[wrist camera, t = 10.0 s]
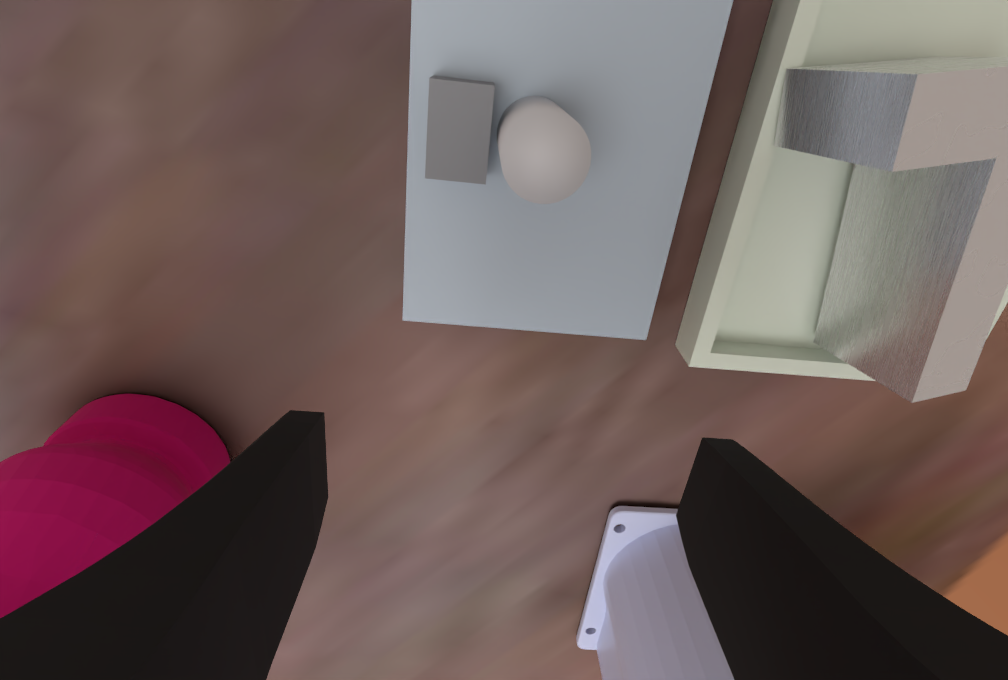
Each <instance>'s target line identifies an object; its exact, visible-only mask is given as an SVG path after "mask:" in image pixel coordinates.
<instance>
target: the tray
mask: <svg viewBox="0 0 1008 680" xmlns="http://www.w3.org/2000/svg"><path fill="white" fill-rule="evenodd" d="M935 56H945V57H1008V0H773V2H772V6H771V9H770V13H769V16H768V20H767V23H766V27H765V30H764V34H763V37H762V41H761V44H760V48H759V51H758V55H757V58H756V62H755V65H754V69H753V72H752V76H751V79H750V83H749V86H748V90H747V93H746V97H745V100H744V104H743V107H742V111H741V114H740V118H739V121H738V125H737V129H736V132H735V136H734V139H733V143H732V146H731V150H730V153H729V157H728V160H727V164H726V167H725V171H724V174H723V178H722V181H721V185H720V188H719V192H718V195H717V199H716V202H715V206H714V209H713V213H712V216H711V220H710V223H709V227H708V230H707V234H706V237H705V241H704V244H703V248H702V251H701V255H700V258H699V262H698V265H697V269H696V273H695V276H694V280H693V283H692V287H691V290H690V294H689V297H688V301H687V304H686V308H685V311H684V315H683V318H682V322H681V325H680V329H679V332H678V336H677V339H676V343H675V346H676V347H677V349H678V350H679V352H680V353H681V355H682V357H683V358H684V360H685V361H686V363H687V364H688V366H689V367H700V368H713V369H726V370H739V371H752V372H765V373H778V374H791V375H804V376H817V377H830V378H843V379H856V380H869V381H875V380H874V379H872V378H871V377H869V376H867V375H866V374H864V373H862V372H861V371H859V370H857V369H856V368H854V367H853V366H851V365H849V364H848V363H846V362H844V361H843V360H841V359H840V358H838V357H836V356H835V355H833V354H831V353H830V352H828V351H826V350H825V349H823V348H822V347H820V346H818V345H817V344H815V343H813V341H814V337H815V333H816V328H817V324H818V320H819V315H820V311H821V307H822V302H823V298H824V294H825V290H826V285H827V281H828V277H829V272H830V268H831V264H832V259H833V255H834V251H835V246H836V242H837V238H838V234H839V229H840V225H841V221H842V216H843V212H844V208H845V203H846V199H847V195H848V190H849V186H850V182H851V178H852V173H853V169H854V165H855V164H854V163H849V162H845V161H840V160H836V159H831V158H827V157H822V156H818V155H813V154H809V153H804V152H800V151H795V150H791V149H786V148H782V147H777V146H774V141H775V135H776V129H777V123H778V117H779V111H780V105H781V99H782V93H783V86H784V80H785V74H786V69H788V68H800V67H812V66H824V65H837V64H849V63H861V62H873V61H886V60H898V59H910V58H922V57H935ZM1007 303H1008V285H1007V288H1006V290H1005V293H1004V295H1003V298H1002V300H1001V303H1000V305H999V308H998V310H997V313H996V316H995V318H994V321H993V323H992V326H991V328H990V331H989V333H988V336H989V334H990V332H991V331H992V329H993V327H994V325H995V324H996V322H997V320H998V318H999V317H1000V315H1001V313H1002V311H1003V310H1004V308H1005V306H1006V304H1007ZM988 336H987V338H988ZM987 338H986V339H987Z"/></svg>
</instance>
